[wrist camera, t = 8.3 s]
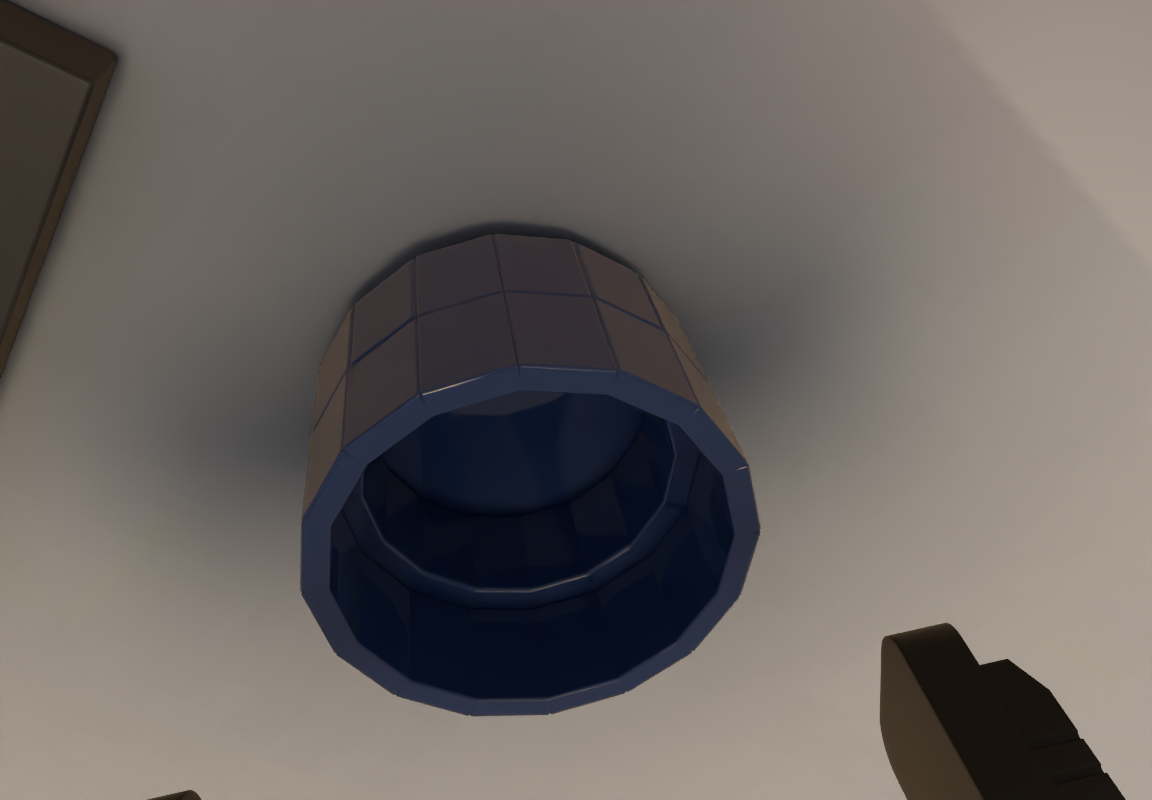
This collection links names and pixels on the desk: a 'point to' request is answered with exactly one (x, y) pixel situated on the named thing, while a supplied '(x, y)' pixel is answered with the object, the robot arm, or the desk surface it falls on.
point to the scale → (39, 144)
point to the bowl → (519, 483)
